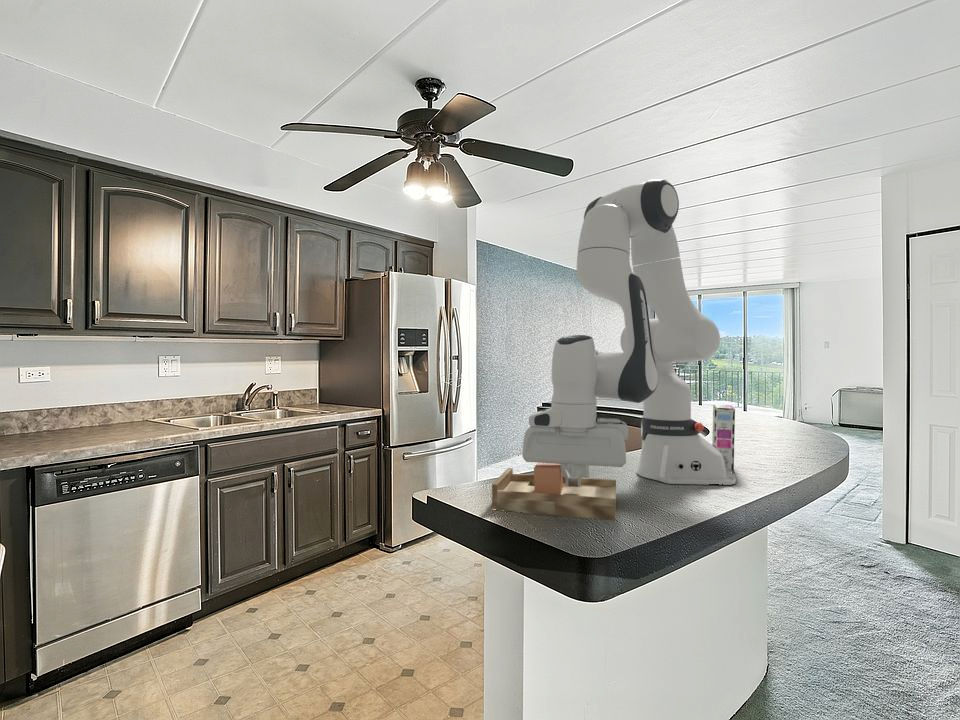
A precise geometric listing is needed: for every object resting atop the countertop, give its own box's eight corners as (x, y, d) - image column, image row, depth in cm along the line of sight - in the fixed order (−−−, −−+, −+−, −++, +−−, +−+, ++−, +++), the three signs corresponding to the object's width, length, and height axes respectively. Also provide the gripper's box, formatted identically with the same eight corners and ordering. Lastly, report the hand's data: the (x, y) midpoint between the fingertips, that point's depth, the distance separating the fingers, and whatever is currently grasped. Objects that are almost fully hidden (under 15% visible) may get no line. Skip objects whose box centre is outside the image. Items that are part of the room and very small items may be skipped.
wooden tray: (615, 497, 108) (615, 474, 108) (615, 520, 94) (615, 492, 94) (508, 490, 114) (508, 467, 114) (492, 510, 100) (492, 484, 100)
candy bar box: (735, 473, 130) (735, 408, 130) (713, 472, 132) (713, 407, 132) (732, 464, 141) (732, 404, 140) (711, 463, 143) (712, 403, 142)
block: (562, 487, 106) (561, 463, 106) (560, 493, 101) (559, 468, 101) (538, 487, 107) (537, 463, 107) (534, 493, 103) (533, 468, 103)
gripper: (627, 416, 103) (627, 485, 103) (526, 413, 108) (525, 479, 109) (628, 420, 97) (628, 494, 97) (520, 417, 102) (520, 486, 102)
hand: (573, 486), depth 103 cm, fingers closed
